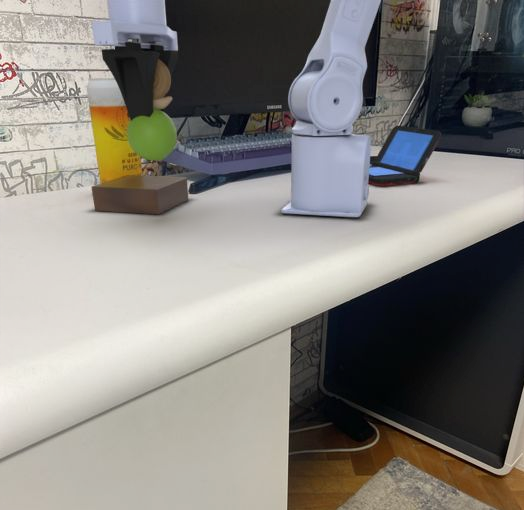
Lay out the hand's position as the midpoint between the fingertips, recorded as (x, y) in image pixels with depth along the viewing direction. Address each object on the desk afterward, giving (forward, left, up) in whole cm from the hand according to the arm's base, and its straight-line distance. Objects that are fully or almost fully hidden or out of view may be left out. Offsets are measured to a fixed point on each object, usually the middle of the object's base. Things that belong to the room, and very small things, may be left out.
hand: (148, 124), depth 59 cm
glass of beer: (+12, -13, -11) cm, 21 cm away
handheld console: (-24, -34, -11) cm, 43 cm away
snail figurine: (0, 0, -4) cm, 4 cm away
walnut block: (+5, -6, -10) cm, 13 cm away
